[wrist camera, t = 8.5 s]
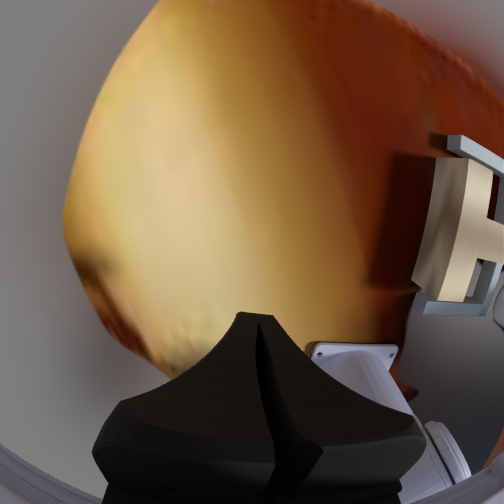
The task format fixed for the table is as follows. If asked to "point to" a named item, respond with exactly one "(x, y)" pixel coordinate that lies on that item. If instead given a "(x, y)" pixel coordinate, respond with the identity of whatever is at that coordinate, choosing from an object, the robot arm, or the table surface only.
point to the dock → (489, 269)
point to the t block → (457, 229)
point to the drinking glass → (499, 308)
